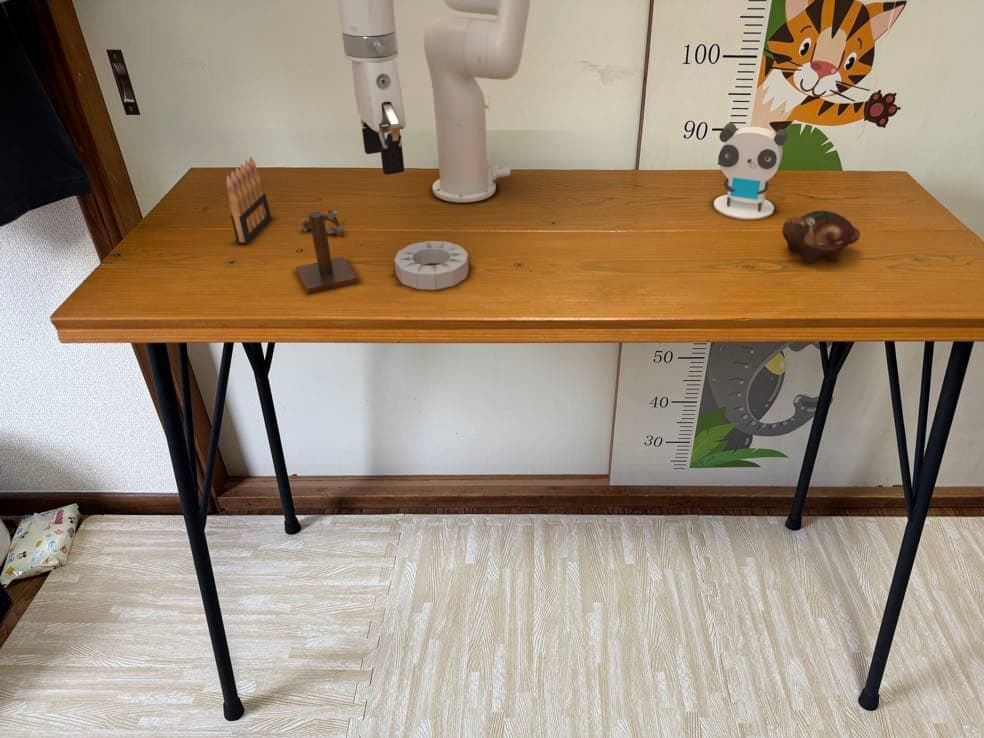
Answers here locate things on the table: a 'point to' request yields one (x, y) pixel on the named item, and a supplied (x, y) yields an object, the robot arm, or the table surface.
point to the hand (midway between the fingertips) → (384, 162)
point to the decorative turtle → (819, 235)
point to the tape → (431, 277)
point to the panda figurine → (748, 170)
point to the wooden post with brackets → (331, 214)
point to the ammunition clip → (247, 202)
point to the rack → (324, 262)
